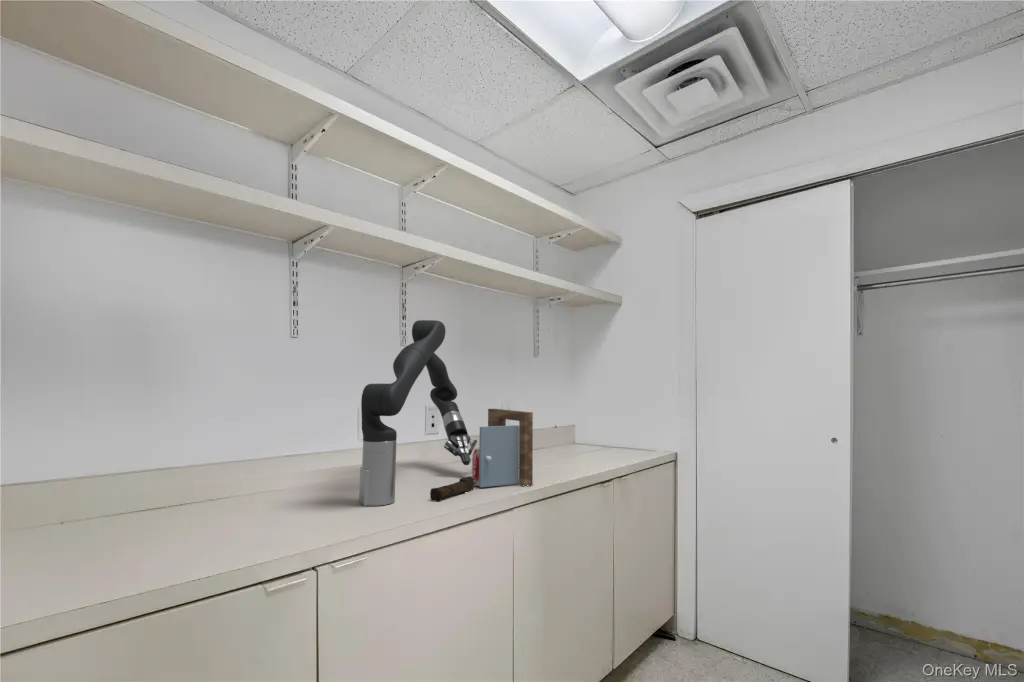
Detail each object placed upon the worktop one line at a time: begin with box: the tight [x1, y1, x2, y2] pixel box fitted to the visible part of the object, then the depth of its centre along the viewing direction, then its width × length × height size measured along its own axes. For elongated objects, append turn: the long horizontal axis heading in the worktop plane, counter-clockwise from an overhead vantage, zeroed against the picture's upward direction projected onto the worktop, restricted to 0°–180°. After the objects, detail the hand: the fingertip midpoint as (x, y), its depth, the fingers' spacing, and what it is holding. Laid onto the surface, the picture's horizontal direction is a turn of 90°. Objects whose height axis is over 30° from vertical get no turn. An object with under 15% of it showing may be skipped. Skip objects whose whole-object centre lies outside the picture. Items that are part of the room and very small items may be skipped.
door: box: [478, 424, 519, 488], centre depth 162 cm, size 14×3×19 cm, turn 119°
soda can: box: [471, 447, 479, 487], centre depth 164 cm, size 7×7×12 cm
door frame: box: [487, 408, 534, 487], centre depth 175 cm, size 3×27×24 cm, turn 29°
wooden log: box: [429, 475, 475, 502], centre depth 149 cm, size 19×4×5 cm, turn 146°
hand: (467, 463), depth 176 cm, fingers closed
